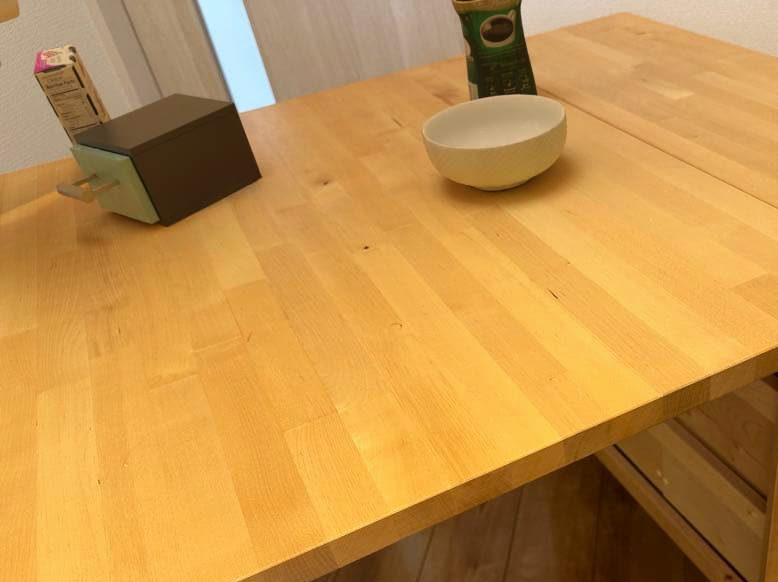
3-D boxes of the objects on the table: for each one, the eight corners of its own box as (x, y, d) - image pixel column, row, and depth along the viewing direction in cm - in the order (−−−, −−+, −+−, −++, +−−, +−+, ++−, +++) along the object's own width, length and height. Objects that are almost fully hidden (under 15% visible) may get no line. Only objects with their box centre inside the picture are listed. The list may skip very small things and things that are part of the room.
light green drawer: (116, 242, 89) (81, 178, 84) (66, 224, 95) (31, 163, 89) (242, 177, 99) (218, 117, 94) (190, 165, 105) (165, 107, 100)
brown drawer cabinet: (167, 227, 92) (129, 149, 86) (111, 209, 99) (72, 135, 93) (262, 177, 101) (234, 102, 95) (205, 163, 107) (175, 93, 101)
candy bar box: (97, 170, 111) (35, 51, 100) (132, 160, 112) (75, 42, 102) (97, 197, 103) (30, 71, 92) (136, 186, 104) (74, 60, 93)
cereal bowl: (590, 187, 86) (585, 125, 82) (448, 222, 84) (435, 160, 80) (548, 137, 99) (541, 81, 95) (423, 166, 97) (410, 111, 92)
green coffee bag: (528, 89, 114) (510, -52, 103) (543, 105, 108) (525, -43, 97) (466, 103, 113) (440, -38, 101) (477, 120, 107) (451, -28, 95)
